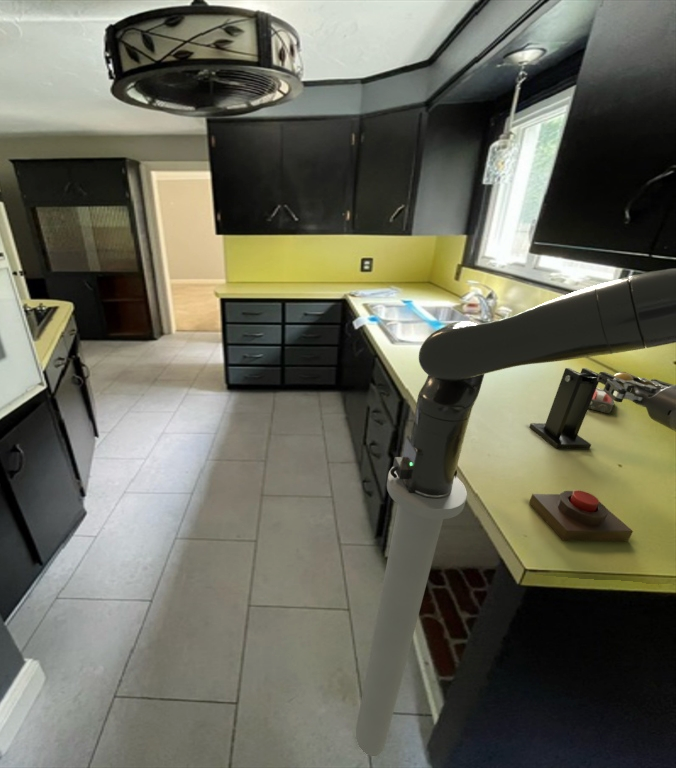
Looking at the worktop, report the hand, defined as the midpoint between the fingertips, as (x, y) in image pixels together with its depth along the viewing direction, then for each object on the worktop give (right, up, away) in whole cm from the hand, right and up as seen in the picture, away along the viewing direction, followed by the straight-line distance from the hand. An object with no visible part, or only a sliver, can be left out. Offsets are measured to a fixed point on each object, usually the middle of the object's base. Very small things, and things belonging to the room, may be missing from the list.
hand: (609, 376), depth 77 cm
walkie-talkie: (+22, -9, +30) cm, 38 cm away
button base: (-17, -26, -12) cm, 34 cm away
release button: (-17, -23, -13) cm, 32 cm away
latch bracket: (0, -15, +14) cm, 20 cm away
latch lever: (0, -3, +2) cm, 3 cm away
